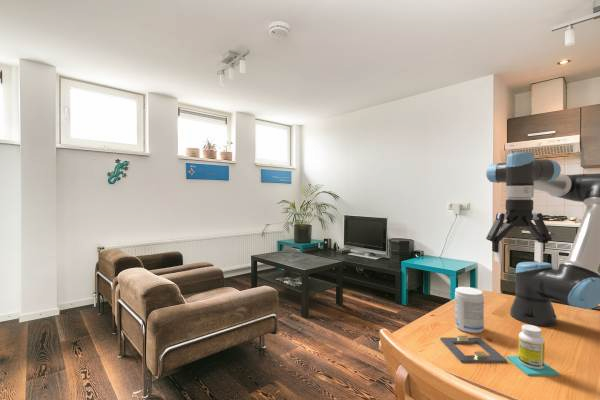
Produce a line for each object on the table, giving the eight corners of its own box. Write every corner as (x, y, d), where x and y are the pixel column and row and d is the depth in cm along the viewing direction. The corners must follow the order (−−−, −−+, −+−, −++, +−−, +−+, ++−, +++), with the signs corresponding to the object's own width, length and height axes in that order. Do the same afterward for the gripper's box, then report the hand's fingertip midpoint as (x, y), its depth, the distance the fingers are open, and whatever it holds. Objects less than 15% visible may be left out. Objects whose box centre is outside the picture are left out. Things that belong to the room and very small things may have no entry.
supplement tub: (488, 330, 114) (489, 291, 113) (475, 336, 108) (476, 296, 108) (462, 320, 122) (463, 284, 121) (449, 326, 116) (450, 289, 116)
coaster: (535, 357, 94) (535, 356, 94) (559, 375, 85) (559, 373, 85) (506, 357, 95) (506, 356, 95) (527, 375, 86) (527, 373, 86)
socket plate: (480, 339, 106) (480, 334, 106) (507, 362, 92) (507, 356, 92) (440, 339, 106) (440, 334, 106) (461, 362, 92) (461, 356, 92)
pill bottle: (529, 357, 94) (529, 322, 94) (549, 368, 88) (550, 331, 88) (513, 359, 92) (513, 324, 92) (532, 371, 86) (533, 333, 86)
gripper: (488, 199, 97) (487, 264, 97) (566, 198, 97) (565, 264, 97) (475, 198, 104) (474, 259, 105) (547, 198, 104) (546, 259, 105)
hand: (518, 261), depth 101 cm, fingers open, 13 cm apart
